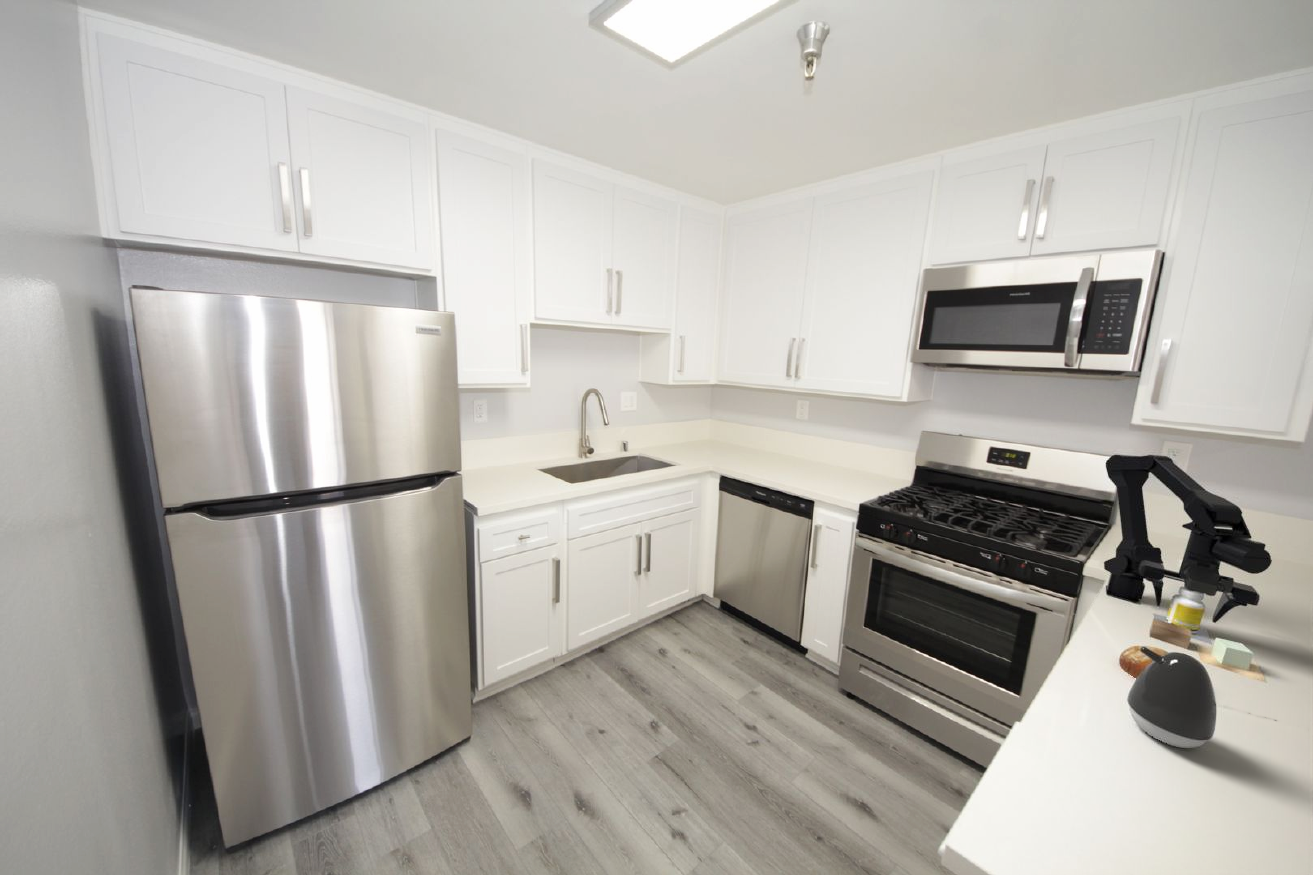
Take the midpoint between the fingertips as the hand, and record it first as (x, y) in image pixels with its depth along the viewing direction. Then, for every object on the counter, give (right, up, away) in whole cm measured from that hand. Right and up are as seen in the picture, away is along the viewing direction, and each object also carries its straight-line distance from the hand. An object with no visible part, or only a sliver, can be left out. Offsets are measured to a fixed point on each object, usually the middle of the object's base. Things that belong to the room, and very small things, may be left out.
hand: (1185, 613), depth 115 cm
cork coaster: (-4, -7, -12) cm, 14 cm away
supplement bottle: (0, -4, +1) cm, 4 cm away
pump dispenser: (-40, -9, -33) cm, 53 cm away
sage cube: (-4, -6, -12) cm, 14 cm away
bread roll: (-26, -7, -18) cm, 33 cm away
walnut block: (-9, -5, -5) cm, 11 cm away
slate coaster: (0, -4, +1) cm, 4 cm away
